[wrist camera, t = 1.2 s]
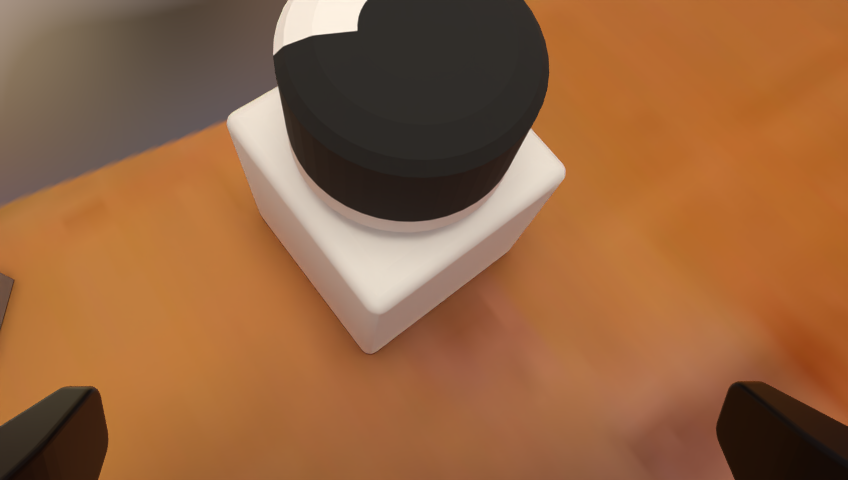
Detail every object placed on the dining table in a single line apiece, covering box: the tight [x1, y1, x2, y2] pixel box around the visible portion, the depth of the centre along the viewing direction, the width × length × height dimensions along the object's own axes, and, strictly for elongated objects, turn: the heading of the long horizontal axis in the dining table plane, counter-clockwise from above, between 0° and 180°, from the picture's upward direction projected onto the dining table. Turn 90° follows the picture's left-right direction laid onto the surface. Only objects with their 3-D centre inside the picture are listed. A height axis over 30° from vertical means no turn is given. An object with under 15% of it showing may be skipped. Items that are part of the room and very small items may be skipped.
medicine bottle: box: [227, 0, 565, 354], centre depth 18 cm, size 7×7×12 cm
